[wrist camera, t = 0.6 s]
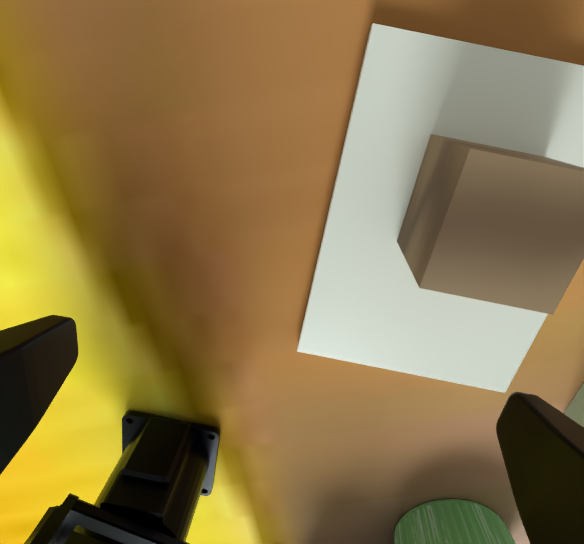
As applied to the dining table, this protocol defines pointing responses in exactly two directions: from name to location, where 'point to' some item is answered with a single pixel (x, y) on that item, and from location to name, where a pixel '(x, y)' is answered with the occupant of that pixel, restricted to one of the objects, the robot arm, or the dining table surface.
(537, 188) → the walnut block
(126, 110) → the dining table surface
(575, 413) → the sage block
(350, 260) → the board
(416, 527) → the ramekin
